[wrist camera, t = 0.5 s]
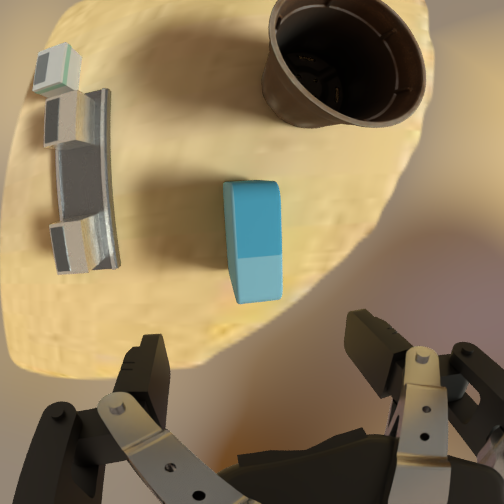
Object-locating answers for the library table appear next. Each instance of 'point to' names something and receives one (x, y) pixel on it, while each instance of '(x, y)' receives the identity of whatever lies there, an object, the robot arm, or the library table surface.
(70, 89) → the block
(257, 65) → the library table surface
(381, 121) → the plant pot
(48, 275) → the library table surface
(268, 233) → the data package
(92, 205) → the rail
